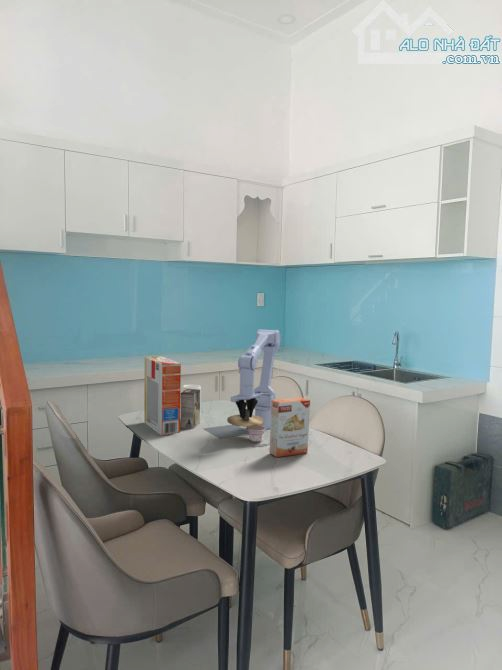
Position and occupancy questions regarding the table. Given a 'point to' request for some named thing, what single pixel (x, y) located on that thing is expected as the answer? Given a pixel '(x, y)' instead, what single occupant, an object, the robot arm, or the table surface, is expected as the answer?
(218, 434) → the mat
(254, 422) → the lid
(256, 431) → the teacup
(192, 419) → the coffee box
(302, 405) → the cracker box
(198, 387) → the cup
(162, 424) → the pasta box
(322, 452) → the table surface
